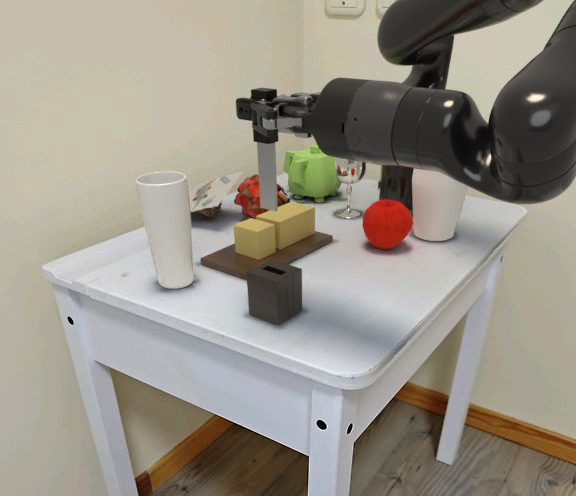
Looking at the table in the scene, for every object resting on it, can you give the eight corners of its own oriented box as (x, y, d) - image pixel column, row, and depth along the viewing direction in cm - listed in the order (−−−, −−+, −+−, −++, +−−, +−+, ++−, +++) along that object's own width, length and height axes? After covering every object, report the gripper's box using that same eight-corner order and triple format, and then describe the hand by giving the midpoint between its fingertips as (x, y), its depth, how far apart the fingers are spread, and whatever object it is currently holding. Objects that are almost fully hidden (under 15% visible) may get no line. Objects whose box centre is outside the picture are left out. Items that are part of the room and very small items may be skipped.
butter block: (292, 227, 98) (291, 201, 95) (315, 233, 95) (315, 206, 92) (257, 242, 92) (255, 215, 89) (280, 249, 89) (279, 222, 87)
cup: (462, 228, 98) (474, 155, 91) (458, 246, 91) (470, 170, 84) (410, 223, 101) (418, 152, 94) (402, 241, 94) (409, 166, 87)
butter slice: (252, 245, 91) (250, 217, 89) (275, 252, 89) (274, 224, 86) (235, 252, 89) (233, 224, 86) (258, 260, 86) (257, 231, 83)
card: (197, 208, 114) (183, 186, 111) (256, 192, 106) (243, 168, 103) (170, 242, 108) (155, 220, 105) (231, 228, 99) (216, 204, 96)
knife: (265, 205, 72) (260, 87, 64) (281, 209, 71) (277, 89, 63) (256, 209, 71) (249, 89, 63) (271, 213, 70) (267, 91, 62)
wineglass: (362, 220, 103) (365, 150, 96) (330, 218, 104) (332, 150, 97) (364, 210, 107) (368, 143, 100) (334, 208, 108) (336, 142, 101)
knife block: (273, 300, 77) (272, 259, 74) (302, 310, 74) (302, 268, 71) (249, 314, 74) (246, 272, 70) (278, 325, 71) (276, 282, 68)
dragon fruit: (242, 218, 109) (287, 242, 103) (215, 202, 102) (261, 226, 96) (263, 178, 107) (309, 199, 101) (236, 158, 100) (285, 180, 94)
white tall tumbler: (178, 296, 79) (162, 187, 70) (143, 286, 82) (123, 180, 73) (209, 278, 83) (197, 174, 75) (174, 269, 86) (159, 168, 78)
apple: (419, 244, 92) (424, 199, 88) (391, 259, 88) (395, 212, 83) (379, 233, 97) (382, 190, 92) (350, 247, 92) (352, 201, 88)
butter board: (282, 227, 100) (282, 222, 100) (332, 241, 94) (332, 235, 94) (200, 264, 88) (200, 258, 87) (252, 282, 82) (252, 275, 81)
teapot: (293, 206, 110) (292, 154, 104) (281, 190, 119) (280, 141, 113) (351, 201, 112) (353, 149, 106) (335, 185, 121) (336, 137, 115)
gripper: (408, 72, 59) (282, 63, 68) (330, 90, 50) (198, 77, 59) (402, 148, 63) (283, 130, 72) (329, 176, 54) (205, 152, 64)
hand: (245, 106), depth 66 cm, fingers closed on knife, 2 cm apart
